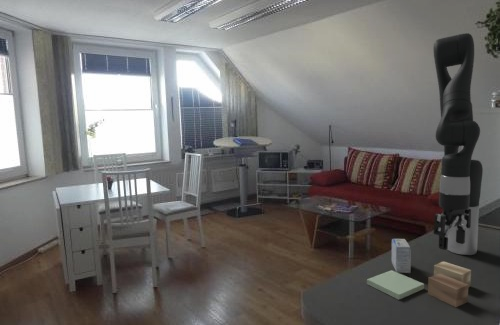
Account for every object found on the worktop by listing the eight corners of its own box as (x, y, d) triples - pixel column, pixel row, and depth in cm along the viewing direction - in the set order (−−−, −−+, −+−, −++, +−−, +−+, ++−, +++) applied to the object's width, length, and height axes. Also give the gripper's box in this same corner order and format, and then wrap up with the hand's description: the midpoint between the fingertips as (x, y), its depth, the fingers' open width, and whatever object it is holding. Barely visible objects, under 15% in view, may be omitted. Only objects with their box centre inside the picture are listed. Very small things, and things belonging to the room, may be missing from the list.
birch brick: (442, 276, 108) (443, 261, 108) (470, 286, 102) (471, 270, 101) (433, 281, 106) (434, 265, 105) (461, 291, 99) (462, 274, 98)
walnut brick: (439, 289, 101) (440, 273, 100) (467, 302, 93) (468, 284, 93) (427, 294, 98) (428, 277, 98) (455, 307, 91) (456, 289, 91)
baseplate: (391, 274, 111) (391, 270, 110) (423, 288, 101) (424, 283, 101) (366, 284, 105) (366, 279, 105) (399, 299, 96) (399, 294, 95)
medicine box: (410, 273, 111) (411, 247, 110) (395, 273, 112) (396, 246, 111) (405, 263, 119) (405, 238, 117) (391, 262, 119) (391, 238, 118)
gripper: (455, 186, 107) (453, 237, 109) (426, 192, 100) (424, 247, 102) (482, 190, 101) (478, 245, 103) (452, 196, 94) (450, 255, 96)
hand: (451, 246), depth 102 cm, fingers open, 8 cm apart
